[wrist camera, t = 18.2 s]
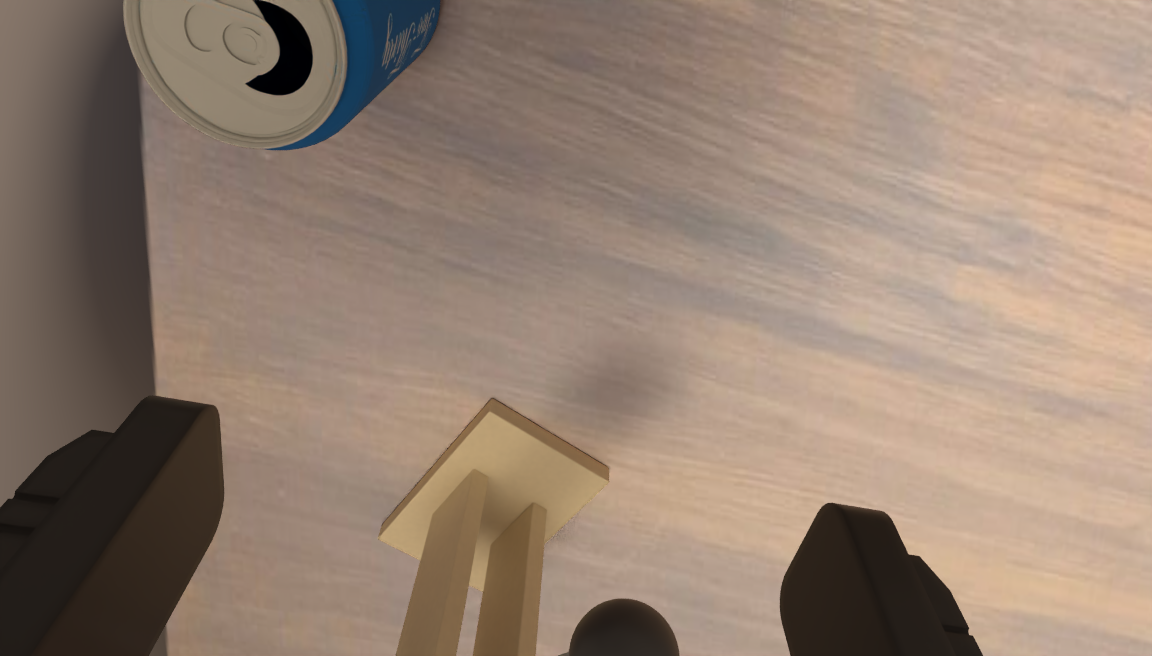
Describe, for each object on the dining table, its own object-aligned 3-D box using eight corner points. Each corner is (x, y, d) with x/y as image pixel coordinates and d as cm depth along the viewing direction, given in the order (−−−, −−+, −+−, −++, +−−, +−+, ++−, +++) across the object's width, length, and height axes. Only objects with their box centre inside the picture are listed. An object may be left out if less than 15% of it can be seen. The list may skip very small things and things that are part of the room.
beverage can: (425, 93, 31) (340, 194, 21) (271, 42, 30) (105, 121, 20) (460, -71, 28) (382, -47, 18) (290, -134, 27) (104, -146, 17)
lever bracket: (491, 397, 40) (442, 639, 27) (609, 467, 42) (614, 720, 29) (382, 524, 45) (296, 778, 32) (492, 580, 47) (453, 838, 34)
